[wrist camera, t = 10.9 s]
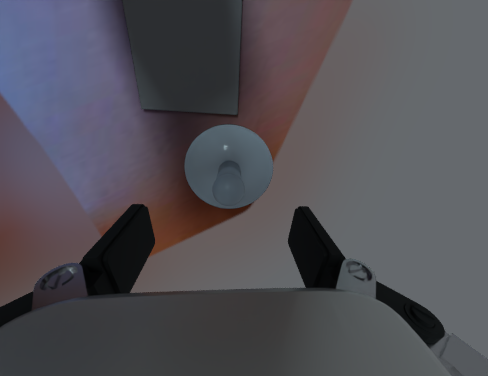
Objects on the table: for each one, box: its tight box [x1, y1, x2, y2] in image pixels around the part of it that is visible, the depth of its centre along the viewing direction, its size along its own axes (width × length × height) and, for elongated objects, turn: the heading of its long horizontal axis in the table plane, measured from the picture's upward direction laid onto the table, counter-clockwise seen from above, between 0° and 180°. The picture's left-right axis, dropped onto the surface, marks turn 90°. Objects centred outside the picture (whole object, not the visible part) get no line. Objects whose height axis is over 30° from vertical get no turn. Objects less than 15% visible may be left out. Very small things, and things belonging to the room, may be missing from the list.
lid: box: [185, 124, 273, 209], centre depth 19 cm, size 11×11×8 cm
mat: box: [122, 0, 242, 115], centre depth 26 cm, size 16×16×1 cm
